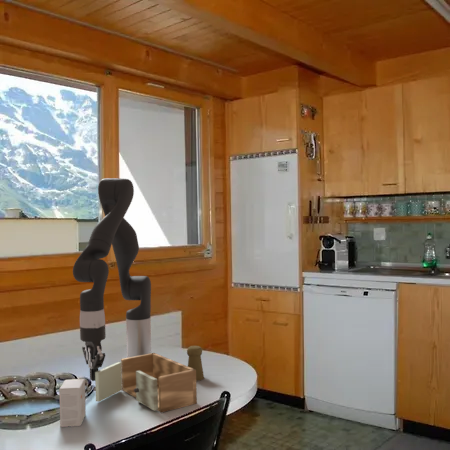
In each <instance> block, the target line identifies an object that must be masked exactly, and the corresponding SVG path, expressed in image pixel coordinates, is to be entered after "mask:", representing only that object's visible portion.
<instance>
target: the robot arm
mask: <svg viewBox="0 0 450 450" xmlns="http://www.w3.org/2000/svg"><path fill="white" fill-rule="evenodd" d="M97 186H98V187H97V192H98V198H99V202H100V205H101V209H102V211H103V214H104V217H103V218H102V219H101V220H100V221H99V222H98V223H97V224H96V225H95V226H94V228H93V230H92V232H91V234H90V237H89V239H88V240H89V241H88V243H87V245H86V247H85V248H84V250H83V251H82V252H81V253H80V255H79V256H78V257H77V259H76V260H75V262H74V265H73V267H72V275H73V278H74V279H75V280H76V281H77V282H79V283H93V285H92V287H91V288H90V289H85V290H82V291H81V292H80V295H79V306H80V307H79V308H80V310H79V338H80V340H81V342H84V344H85V345H84V346H82V347H81V350H82V353H83V356H84V360H85V363H86V365H87V367H88V368H89V380H90V381H92V382H95V372H97V371H99V368H102V366H103V364H104V361H105V359H106V353H105V352H102V351H103V350H102V349H103V347H102V341H103V340H105V339H106V338H107V337H106V335H107V334H106V315H105V304H104V303H105V301H104V295H105V289H106V285H107V282H108V277H109V272H110V271H109V265H108V263H107V262H106V260H104V258H107V256H108V255H109V254H110V251H111V247H112V250H113V251H112V252H113V254H114V257H115V262H116V266H117V271H118V278H119V286H120V292H121V295H122V298H123V299H124V301H125V300H126V301H140V304H139V305H138V306H136V307H134V308H131V309H128V310H126V314H125V322H126V323H125V324H126V325H125V327H126V329H125V330H126V358H129V357H134V356H140V355H145V354H150V353H152V324H151V321H152V319H151V318H152V317H151V310H152V309H151V307H152V305H151V304H152V295H151V294H152V283H151V279H150V277H149V276H147V275H133V276H132V275H130V269H131V267H132V265H133V263H134V262H135V260H136V258H137V255H138V253H139V251H140V246H139V245H140V244H139V241H138V235H137V233H136V230H135V229H134V227H133V226H132V224H130V223H129V222H128V221H127V220H126V218H125V216H126V214H127V212H128V210H129V208H130V206H131V204H132V202H133V199H134V194H135V190H134V183H133V181H132V180H130V179H129V178H117V177H116V178H115V177H112V178H110V177H106V178H102V179H100V181H99V182H98V185H97Z"/></svg>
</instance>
